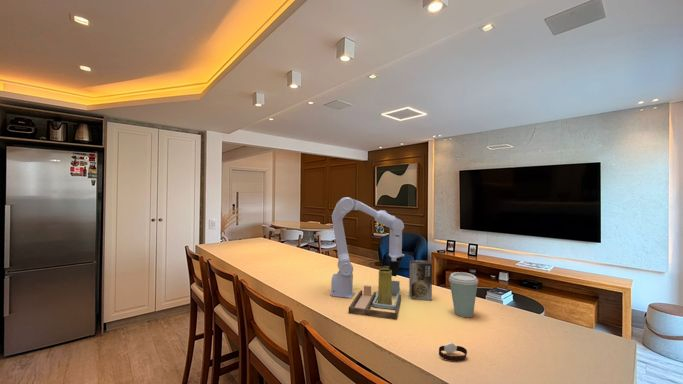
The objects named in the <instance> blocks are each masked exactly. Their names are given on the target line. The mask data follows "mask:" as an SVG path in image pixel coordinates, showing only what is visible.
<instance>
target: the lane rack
mask: <svg viewBox="0 0 683 384" xmlns="http://www.w3.org/2000/svg"><path fill="white" fill-rule="evenodd" d="M362 294H363V290H362V289H361V290H360V291H359V292H358V293H357V295H356V296H355V297H354V299H353V301H352V302H351V303H350V305H349V306H348V314H351V315H357V316H358V315H360V316H366V317H371V318H382V319H388V320H395V321H397V320H398V317H399V311H400V306H401V302H402V294H399V298H398V302H397V306H396V310H394V312H393V311H385V310H377V309H371V308H372V303H373V301H374V299H375V297H376V295H377V291H373V293H372V294H371V295H372V297H371V299H370V301H369V303H368V304H367V306H366V308H365V309H363V308H356V307H355V305H356V304H357V302H358V300H359V299H360V297H361V296H362Z"/></svg>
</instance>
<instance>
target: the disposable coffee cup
mask: <svg viewBox="0 0 683 384" xmlns="http://www.w3.org/2000/svg"><path fill="white" fill-rule="evenodd" d="M448 281H449V284H450V285H449V287H450V290H451V292H450V293H451V298H452V304H453V309H454V312H455V313H454V314H455V315H457V316H459V317H463V318H471V317H473V315H474V311H475V305H476V304H475V303H476V298H477V297H476V296H477V291H478V284H479V279H478V278H477V276H475V275H474V274H472V273H468V272H463V271H460V272H459V271H457V272H456V271H455V272H451V273H450V275H449V277H448Z"/></svg>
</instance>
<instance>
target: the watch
mask: <svg viewBox="0 0 683 384" xmlns="http://www.w3.org/2000/svg"><path fill="white" fill-rule="evenodd" d="M444 352H445V353H447V354H445V353H444ZM455 352H460V353H463V355H449V354H453V353H455ZM467 353H468V350H467V349H466V348H465V347H463V346H461V345H456V344H455V343H454V342H448V343H446V344H445V345H442V346H441V345H440V346H439V348H438V355H439V357H440V358H442V360H445V359H446V360H445V361H449V360H450V362H461V361H465V360H466V358H467Z"/></svg>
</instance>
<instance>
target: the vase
mask: <svg viewBox="0 0 683 384" xmlns="http://www.w3.org/2000/svg"><path fill="white" fill-rule="evenodd" d="M392 278H393V276H392V270H391V269H389V268H380V269H378V290H377V293H378V299H377V301H376V303H378V304H386V305H393V294H392V281H393V279H392Z"/></svg>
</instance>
